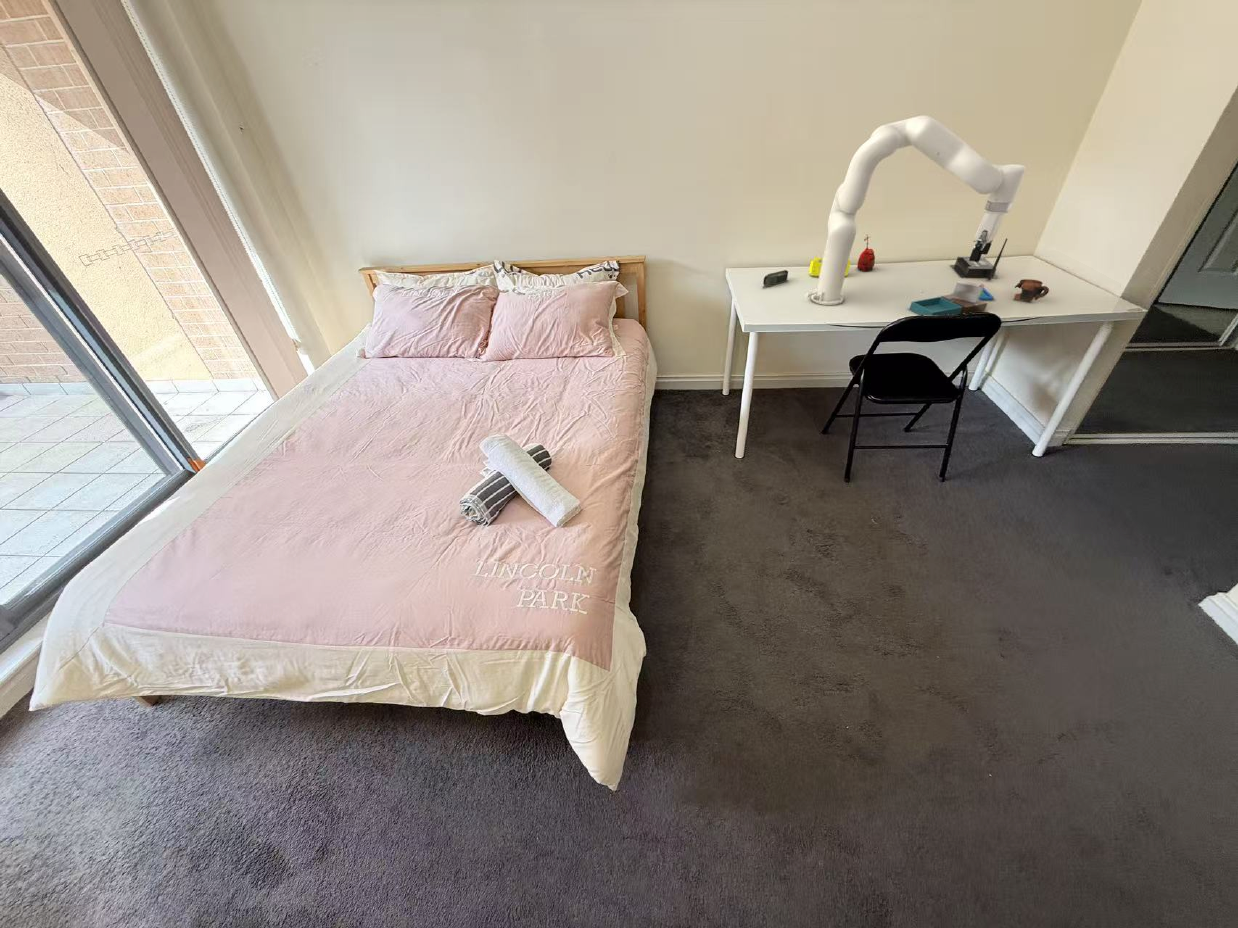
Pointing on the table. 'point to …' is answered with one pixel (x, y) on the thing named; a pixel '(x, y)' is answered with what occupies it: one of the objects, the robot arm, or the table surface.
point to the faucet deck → (967, 304)
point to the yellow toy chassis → (816, 267)
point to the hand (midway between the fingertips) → (978, 257)
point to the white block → (967, 291)
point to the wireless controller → (976, 267)
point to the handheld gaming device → (985, 295)
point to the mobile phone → (775, 278)
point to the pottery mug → (1031, 290)
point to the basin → (935, 307)
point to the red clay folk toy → (866, 259)
